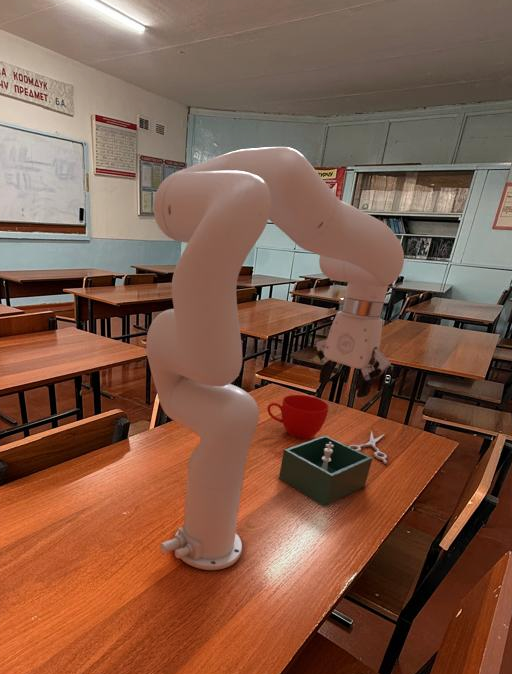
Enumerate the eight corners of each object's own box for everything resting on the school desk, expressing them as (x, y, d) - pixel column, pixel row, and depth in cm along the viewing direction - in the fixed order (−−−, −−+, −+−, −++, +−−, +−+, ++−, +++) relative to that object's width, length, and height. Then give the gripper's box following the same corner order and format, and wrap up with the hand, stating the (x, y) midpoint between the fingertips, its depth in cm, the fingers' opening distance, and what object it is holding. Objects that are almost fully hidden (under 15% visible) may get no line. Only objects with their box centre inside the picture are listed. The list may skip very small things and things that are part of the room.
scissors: (346, 450, 120) (360, 425, 136) (345, 452, 120) (360, 428, 136) (386, 462, 115) (397, 435, 131) (386, 464, 115) (396, 437, 131)
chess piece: (333, 486, 102) (342, 448, 98) (311, 483, 102) (320, 445, 98) (331, 476, 106) (340, 439, 102) (310, 472, 107) (318, 436, 103)
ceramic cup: (264, 421, 135) (268, 391, 131) (319, 428, 134) (325, 397, 130) (264, 439, 124) (269, 406, 120) (324, 447, 122) (331, 414, 118)
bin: (324, 506, 96) (332, 476, 92) (278, 478, 105) (283, 449, 102) (364, 486, 105) (372, 458, 101) (319, 461, 114) (325, 435, 111)
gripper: (315, 301, 91) (300, 379, 98) (392, 318, 79) (368, 405, 86) (337, 300, 96) (320, 375, 103) (412, 316, 84) (388, 399, 91)
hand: (342, 389), depth 94 cm, fingers open, 9 cm apart
